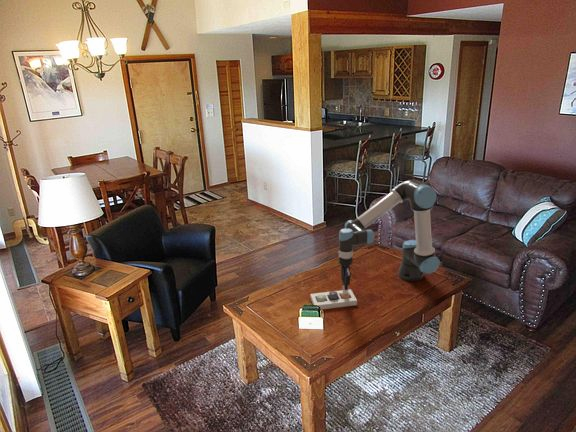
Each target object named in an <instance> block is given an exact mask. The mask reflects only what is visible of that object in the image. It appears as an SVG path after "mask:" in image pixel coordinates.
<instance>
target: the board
mask: <svg viewBox="0 0 576 432" xmlns="http://www.w3.org/2000/svg"><path fill="white" fill-rule="evenodd" d="M334 291H335V292H337V293H338V299H337V300H330V299H329V292H330V291H325V292H316V293H310V301H311V304H312V305H317V306H319V307H320V308H321V310H328V309H335V308H345V307H352V306H357V305H358V300H357V298H356V295H354V292H353V290H352V289H351V288H348V293H349V294H350V298H347V299H341V293H342V292H343V289H341V290H334ZM318 295H324V296H325V297H326V301H323V302H317V296H318Z"/></svg>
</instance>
